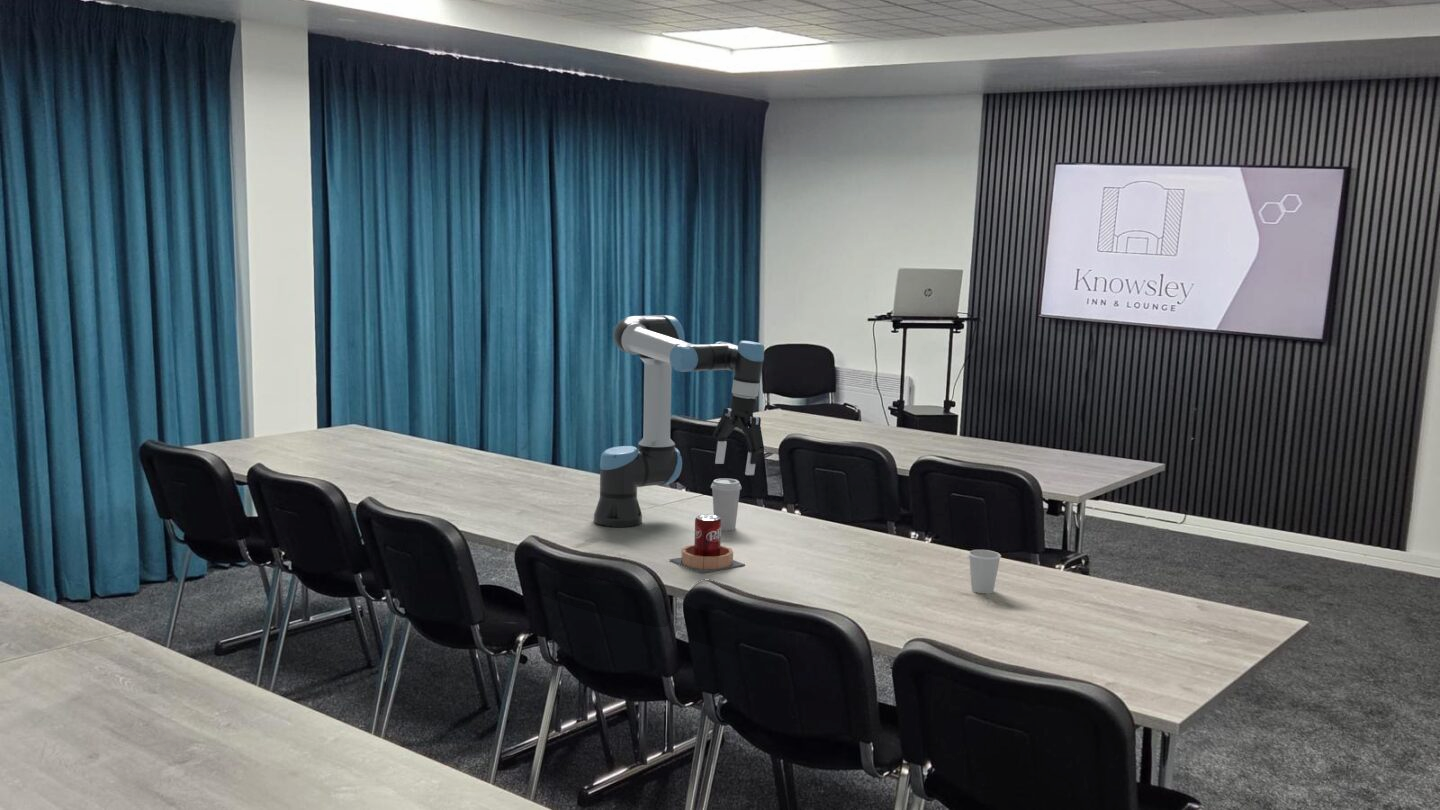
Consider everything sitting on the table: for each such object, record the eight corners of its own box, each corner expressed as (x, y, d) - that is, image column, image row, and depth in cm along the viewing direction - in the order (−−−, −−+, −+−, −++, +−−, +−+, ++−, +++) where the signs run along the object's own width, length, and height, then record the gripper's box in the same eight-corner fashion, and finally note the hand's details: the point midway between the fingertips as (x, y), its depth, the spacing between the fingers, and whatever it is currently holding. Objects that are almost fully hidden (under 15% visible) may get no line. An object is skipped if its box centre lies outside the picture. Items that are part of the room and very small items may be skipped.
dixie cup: (963, 585, 316) (965, 548, 314) (995, 586, 315) (997, 550, 314) (969, 594, 307) (971, 557, 306) (1001, 596, 307) (1004, 558, 306)
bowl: (669, 560, 331) (669, 548, 330) (711, 553, 340) (712, 541, 339) (701, 573, 319) (701, 560, 318) (744, 565, 328) (745, 553, 327)
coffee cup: (737, 533, 364) (738, 485, 362) (706, 530, 366) (708, 482, 364) (742, 525, 373) (744, 479, 371) (713, 523, 375) (714, 477, 373)
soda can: (723, 558, 331) (725, 516, 330) (715, 564, 325) (716, 521, 323) (699, 555, 334) (700, 513, 332) (690, 561, 327) (691, 518, 325)
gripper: (783, 404, 329) (772, 479, 332) (727, 388, 348) (717, 458, 351) (763, 404, 324) (752, 480, 327) (707, 387, 343) (697, 459, 346)
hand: (734, 469), depth 339 cm, fingers open, 13 cm apart
